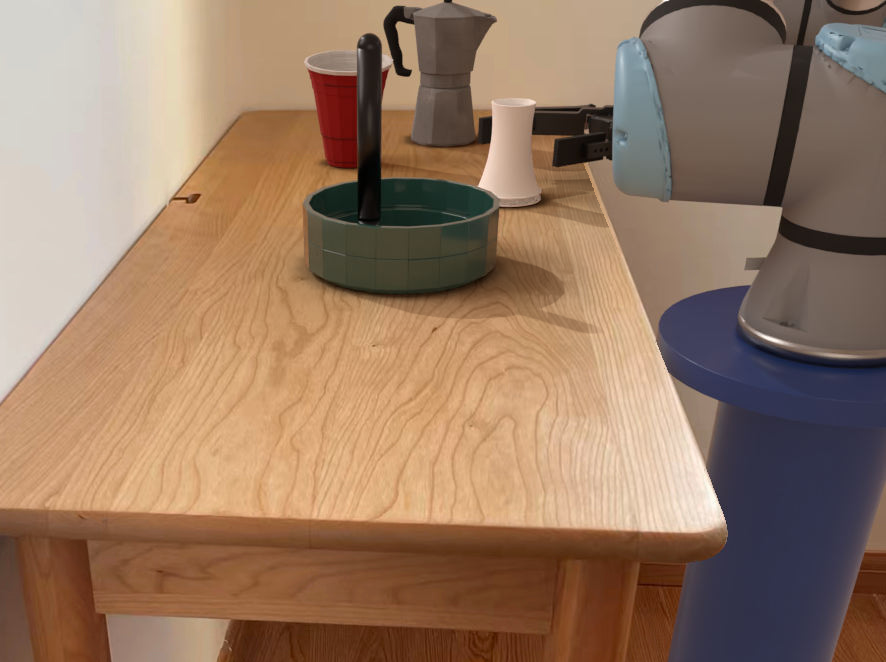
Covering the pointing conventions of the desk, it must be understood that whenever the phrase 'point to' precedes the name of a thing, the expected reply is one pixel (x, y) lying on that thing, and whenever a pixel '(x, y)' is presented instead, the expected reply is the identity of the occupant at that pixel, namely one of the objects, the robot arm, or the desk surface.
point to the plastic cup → (338, 102)
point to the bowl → (402, 236)
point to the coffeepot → (441, 68)
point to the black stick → (369, 128)
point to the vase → (511, 154)
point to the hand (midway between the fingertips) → (516, 141)
